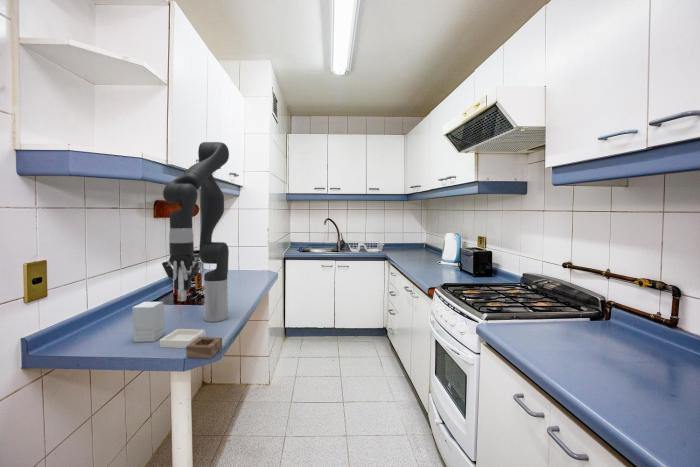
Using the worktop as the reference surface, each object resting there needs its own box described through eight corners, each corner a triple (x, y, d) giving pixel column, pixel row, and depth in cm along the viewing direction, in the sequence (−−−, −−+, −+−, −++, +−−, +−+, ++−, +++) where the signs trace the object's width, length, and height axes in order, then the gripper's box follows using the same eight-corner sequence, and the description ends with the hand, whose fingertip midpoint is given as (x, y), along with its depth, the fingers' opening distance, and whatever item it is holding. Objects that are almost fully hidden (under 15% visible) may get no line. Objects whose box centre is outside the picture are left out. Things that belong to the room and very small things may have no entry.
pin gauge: (181, 298, 116) (180, 265, 115) (188, 299, 115) (187, 265, 115) (176, 300, 113) (176, 266, 112) (184, 301, 113) (183, 266, 112)
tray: (177, 335, 121) (177, 328, 121) (205, 336, 120) (205, 329, 120) (159, 347, 110) (159, 339, 110) (189, 348, 110) (189, 341, 110)
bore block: (199, 347, 111) (199, 337, 111) (222, 347, 110) (222, 337, 110) (186, 357, 103) (186, 346, 103) (210, 358, 102) (210, 347, 102)
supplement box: (165, 334, 122) (164, 301, 121) (154, 342, 115) (153, 307, 114) (145, 334, 122) (144, 301, 121) (132, 342, 114) (131, 307, 114)
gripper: (206, 240, 116) (207, 288, 118) (168, 239, 117) (169, 287, 118) (195, 242, 109) (196, 293, 110) (155, 241, 110) (156, 292, 111)
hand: (182, 289), depth 114 cm, fingers closed on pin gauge, 2 cm apart
